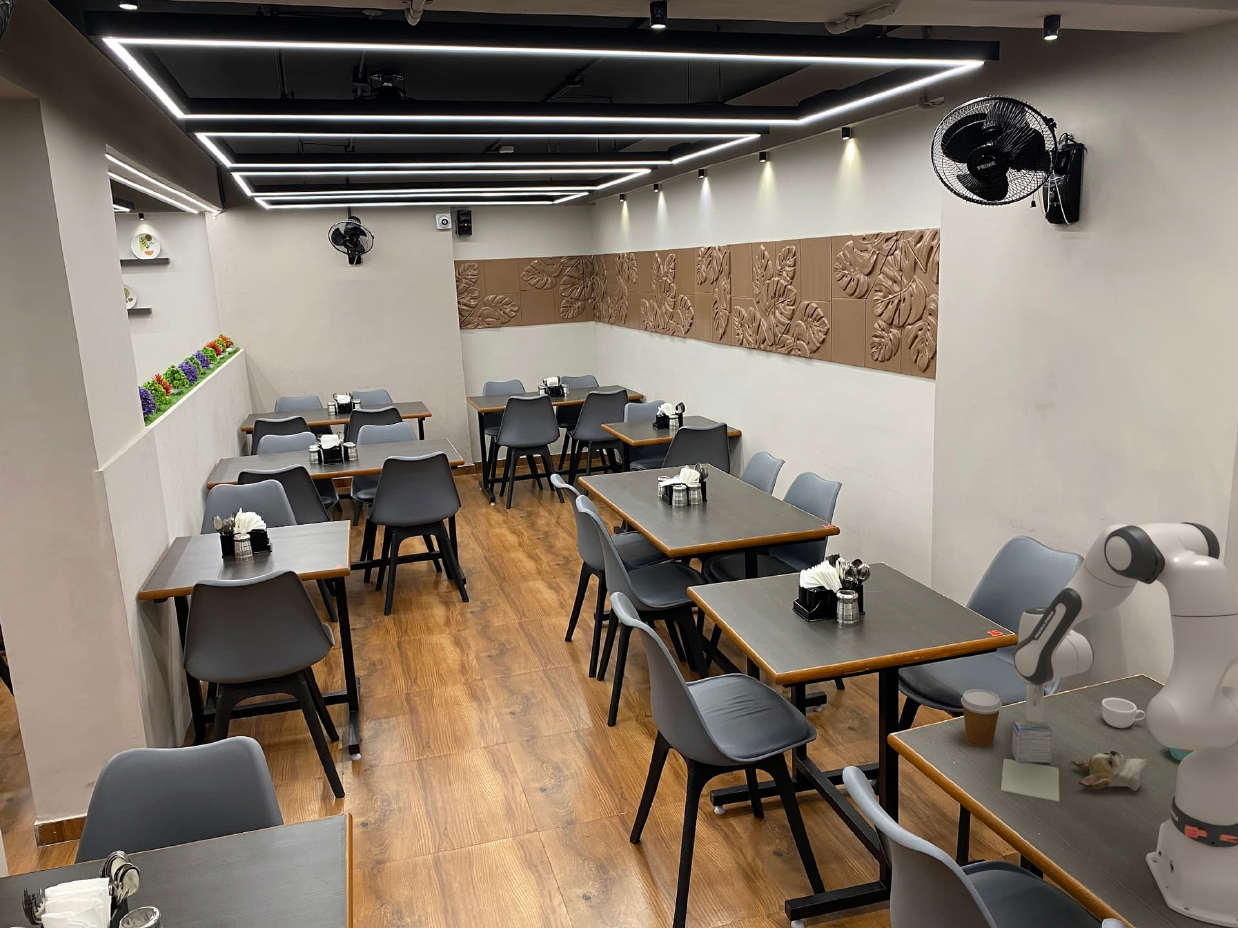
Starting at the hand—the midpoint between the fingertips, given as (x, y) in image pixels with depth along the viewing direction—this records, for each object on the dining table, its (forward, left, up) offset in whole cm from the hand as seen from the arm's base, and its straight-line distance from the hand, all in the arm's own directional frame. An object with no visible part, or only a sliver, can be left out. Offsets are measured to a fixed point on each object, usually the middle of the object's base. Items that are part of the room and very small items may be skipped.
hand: (1033, 721), depth 222 cm
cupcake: (+7, -33, -7) cm, 34 cm away
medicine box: (-7, 0, -7) cm, 9 cm away
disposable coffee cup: (-2, +12, -7) cm, 14 cm away
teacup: (+19, -21, -7) cm, 29 cm away
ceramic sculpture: (-11, -16, -7) cm, 21 cm away
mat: (-16, 0, -6) cm, 17 cm away
